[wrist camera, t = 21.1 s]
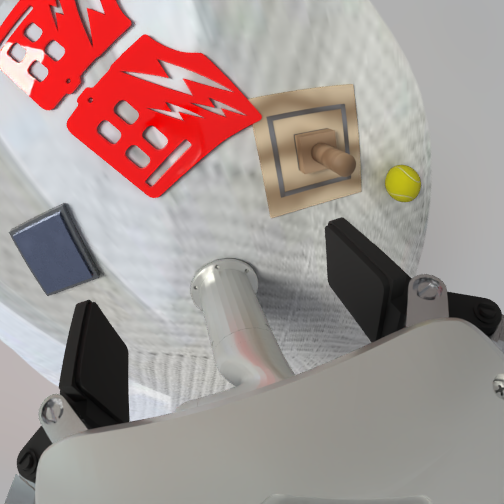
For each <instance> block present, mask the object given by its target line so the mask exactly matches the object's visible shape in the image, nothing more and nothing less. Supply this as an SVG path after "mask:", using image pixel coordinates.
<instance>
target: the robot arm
mask: <svg viewBox="0 0 504 504" xmlns="http://www.w3.org/2000/svg"><path fill="white" fill-rule="evenodd" d="M325 238H326V254H327V275H328V282H329V285H330V287H331V288H332V289H333V291H334V292H335V293H336V295H337V296H338V297H339V299H340V300H341V301H342V303H343V304H344V305H345V307H346V308H347V309H348V311H349V312H350V313H351V315H352V316H353V317H354V319H355V320H356V322H357V323H358V324H359V326H360V327H361V328H362V330H363V331H364V332H365V334H366V335H367V337H368V338H369V339H370V341H371V342H372V343H370V344H368V345H366V346H364V347H362V348H359V349H357V350H355V351H352V352H350V353H348V354H346V355H343V356H341V357H339V358H337V359H334V360H332V361H330V362H327V363H325V364H322V365H320V366H318V367H315V368H313V369H310V370H308V371H305V372H302V373H300V374H297V375H295V374H294V372H293V371H292V369H291V367H290V366H289V364H288V362H287V361H286V359H285V357H284V355H283V353H282V351H281V349H280V347H279V345H278V343H277V340H276V338H275V336H274V334H273V332H272V330H271V328H270V325H269V323H268V321H267V319H266V317H265V314H264V312H263V310H262V308H261V305H260V303H259V301H258V299H257V297H256V293H257V291H258V278H257V276H256V273H255V272H254V270H253V269H252V268H251V266H249V265H248V264H247V263H245V262H243V261H241V260H237V259H220V260H216V261H213V262H211V263H209V264H207V265H205V266H204V267H203V268H201V269H200V270H199V271H198V272H197V273H196V275H195V276H194V278H193V280H192V283H191V288H190V290H191V297H192V300H193V302H194V304H195V305H196V307H197V308H199V309H200V310H201V311H203V312H204V317H205V321H206V326H207V330H208V334H209V339H210V343H211V347H212V351H213V355H214V359H215V363H216V366H217V368H218V370H219V372H220V373H221V375H222V376H223V377H224V378H225V379H226V380H227V381H229V382H230V383H231V384H233V385H234V386H236V387H233V388H230V389H228V390H225V391H222V392H218V393H215V394H211V395H208V396H204V397H201V398H198V399H194V400H191V401H188V402H185V403H183V404H181V405H180V406H179V407H178V408H177V409H176V410H175V412H174V413H170V414H166V415H161V416H157V417H152V418H147V419H142V420H137V421H132V422H129V395H128V349H127V347H126V345H125V343H124V342H123V341H122V339H121V338H120V337H119V335H118V334H117V333H116V331H115V330H114V328H113V327H112V326H111V324H110V323H109V321H108V320H107V318H106V317H105V315H104V314H103V312H102V311H101V309H100V308H99V306H98V305H97V304H96V303H95V302H92V301H90V300H87V301H84V302H81V303H78V304H76V307H75V311H74V314H73V318H72V322H71V327H70V331H69V335H68V340H67V344H66V349H65V354H64V359H63V365H62V370H61V376H60V383H59V389H60V395H59V394H53V395H50V396H49V397H47V398H46V399H45V400H44V402H43V403H42V404H41V407H40V409H39V420H40V423H41V425H42V426H41V427H40V428H39V429H38V430H37V432H36V433H35V434H34V435H33V437H32V438H31V439H30V440H29V441H28V443H27V444H26V445H25V446H24V447H23V449H22V450H21V451H20V453H19V455H18V458H17V468H18V471H19V475H17V474H16V475H15V478H14V480H13V483H12V485H11V488H10V490H9V493H8V496H7V498H6V501H5V504H504V315H503V314H502V313H501V310H500V308H499V307H498V305H497V304H496V303H495V302H493V301H491V300H490V299H486V298H481V297H476V296H470V295H463V294H458V293H452V292H447V289H446V286H445V284H444V283H443V281H441V280H440V279H439V278H437V277H435V276H433V275H428V274H421V275H417V276H415V277H414V278H410V277H409V276H408V275H407V274H406V273H405V272H404V271H403V270H402V269H401V268H400V267H399V266H398V265H397V264H396V263H395V262H394V261H392V260H391V259H390V258H389V257H388V256H387V255H386V254H385V253H384V252H383V251H382V250H380V249H379V248H378V247H377V246H376V245H375V244H373V243H372V242H371V241H370V240H369V239H368V238H367V237H365V236H364V235H363V234H362V233H361V232H360V231H358V230H357V229H356V228H355V227H354V226H353V225H352V224H350V223H349V222H348V221H347V220H346V219H344V218H338V219H335V220H332V221H329V223H328V226H326V227H325Z"/></svg>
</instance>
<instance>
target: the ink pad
mask: <svg viewBox="0 0 504 504" xmlns="http://www.w3.org/2000/svg"><path fill="white" fill-rule="evenodd" d="M9 233H10V235H11V237H12V239H13V241H14V243H15V244H16V246H17V248H18V250H19V252H20V253H21V255H22V257H23V259H24V260H25V262H26V264H27V265H28V267H29V269H30V270H31V272H32V273H33V275H34V277H35V278H36V280H37V281H38V283H39V284H40V286H41V287H42V289H43V290H44V292H45V293H46V295H47V296H49V295H52V294H55V293H58V292H60V291H63V290H66V289H69V288H71V287H74V286H77V285H80V284H83V283H85V282H88V281H91V280H94V279H97V278H99V275H100V273H99V271H98V269H97V268H96V266H95V264H94V262H93V260H92V258H91V257H90V255H89V253H88V251H87V249H86V247H85V245H84V243H83V241H82V239H81V237H80V235H79V233H78V231H77V229H76V227H75V225H74V223H73V221H72V219H71V217H70V215H69V213H68V211H67V208H66V206H65V204H64V203H63V204H61V205H59V206H57V207H54V208H52V209H50V210H48V211H46V212H44V213H42V214H40V215H38V216H36V217H34V218H32V219H30V220H28V221H26V222H24V223H22V224H20V225H19V226H17V227H15V228H13V229H11V231H10V232H9Z"/></svg>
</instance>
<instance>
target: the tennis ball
mask: <svg viewBox="0 0 504 504" xmlns="http://www.w3.org/2000/svg"><path fill="white" fill-rule="evenodd" d="M385 186H386V190H387V192H388V193H389V195H390V196H391V197H392V198H394V199H395V200H397V201H400V202H410V201H412V200H413V199H415V198H416V197H417V195H418V194H419V192H420V188H421V181H420V177H419V175H418V174H417V172H416V171H415V170H414V169H412V168H411V167H409V166H406V165H397V166H394V167H393V168H391V169H390V170H389V172H388V173H387V176H386V179H385Z"/></svg>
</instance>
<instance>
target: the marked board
mask: <svg viewBox="0 0 504 504" xmlns="http://www.w3.org/2000/svg"><path fill="white" fill-rule="evenodd" d="M248 100H249V102H250V103H251V104H252V105H253V106H254V107H255V108H256V109H257V111H258V112H259V113H260V114H261V115H262V118H261V120H260V121H258V122H256V123H254V124H252V125H253V130H254V135H255V140H256V145H257V150H258V155H259V160H260V165H261V170H262V175H263V180H264V185H265V190H266V195H267V201H268V206H269V211H270V217H271V218H274V217H277V216H280V215H284V214H287V213H290V212H294V211H297V210H300V209H304V208H307V207H310V206H314V205H317V204H320V203H324V202H327V201H331V200H334V199H337V198H341V197H344V196H348V195H351V194H355V193H358V192H361V168H360V150H359V136H358V124H357V113H356V104H355V95H354V87H353V84H346V85H336V86H326V87H318V88H310V89H302V90H296V91H289V92H283V93H277V94H272V95H266V96H261V97H256V98H251V99H248ZM324 128H329V129H332V130H334V131H335V136H336V146H337V149H339V150H341V151H343V152H345V153H348V154H350V155H352V156H353V157H354V158H355V161H356V168H355V170H354V172H353V173H352V174H351V175H350V176H348V177H342V176H340V175H338V174H337V173H335V172H333V171H332V170H330V169H325V170H321V171H317V172H313V173H309V174H304V173H302V172H301V171H299V169H298V162H297V155H296V148H295V142H294V134H299V133H304V132H309V131H314V130H319V129H324Z"/></svg>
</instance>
